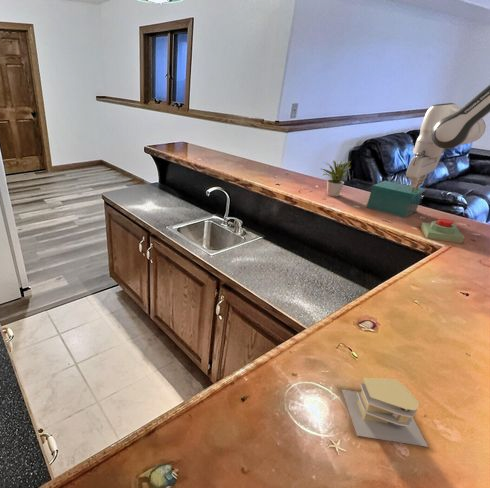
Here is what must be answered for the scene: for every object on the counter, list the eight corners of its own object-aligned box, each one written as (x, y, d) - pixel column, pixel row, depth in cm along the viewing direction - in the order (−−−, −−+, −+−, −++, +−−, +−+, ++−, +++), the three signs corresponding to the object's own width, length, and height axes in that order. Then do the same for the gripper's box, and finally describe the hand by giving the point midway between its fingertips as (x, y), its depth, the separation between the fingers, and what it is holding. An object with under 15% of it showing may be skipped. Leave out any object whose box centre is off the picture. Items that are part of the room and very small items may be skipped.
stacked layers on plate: (356, 435, 54) (365, 411, 52) (341, 389, 62) (348, 366, 60) (427, 447, 53) (440, 422, 50) (402, 398, 60) (412, 374, 58)
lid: (425, 190, 139) (429, 179, 137) (414, 196, 132) (418, 184, 130) (384, 182, 150) (387, 171, 148) (372, 187, 143) (375, 175, 141)
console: (453, 231, 124) (457, 221, 123) (461, 243, 116) (466, 232, 114) (420, 227, 128) (423, 217, 126) (426, 238, 120) (430, 227, 118)
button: (448, 224, 121) (450, 219, 121) (452, 228, 118) (454, 223, 117) (435, 222, 123) (437, 218, 122) (438, 226, 120) (440, 222, 119)
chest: (416, 211, 143) (423, 190, 139) (404, 217, 137) (411, 196, 133) (378, 201, 154) (384, 182, 150) (366, 207, 147) (372, 187, 143)
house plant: (328, 187, 172) (335, 154, 165) (355, 195, 162) (364, 159, 155) (311, 192, 165) (317, 158, 158) (338, 200, 155) (346, 164, 148)
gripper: (427, 154, 122) (415, 192, 128) (447, 147, 133) (434, 183, 139) (407, 151, 126) (396, 188, 132) (428, 145, 138) (417, 179, 144)
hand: (416, 185), depth 136 cm, fingers open, 5 cm apart
